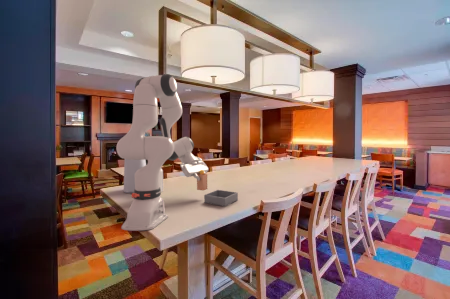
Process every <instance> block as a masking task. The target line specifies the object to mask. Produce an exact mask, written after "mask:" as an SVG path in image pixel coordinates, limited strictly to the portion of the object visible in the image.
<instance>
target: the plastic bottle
mask: <svg viewBox="0 0 450 299" xmlns="http://www.w3.org/2000/svg"><path fill="white" fill-rule="evenodd" d="M146 165H147V160H129V159H124V166H123V167H124V168H123V170H124V171H123V192H124V193H125V194H132V193H134V190H135V173H136V171H137V170H138V169H140V168H142V167H144V166H146Z"/></svg>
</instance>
